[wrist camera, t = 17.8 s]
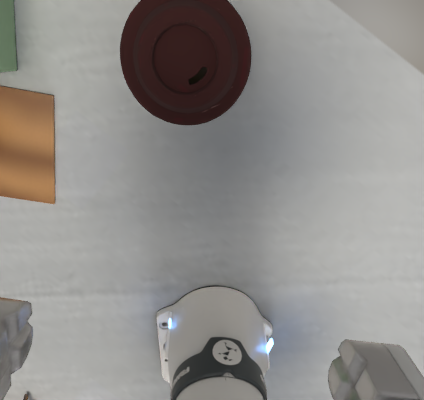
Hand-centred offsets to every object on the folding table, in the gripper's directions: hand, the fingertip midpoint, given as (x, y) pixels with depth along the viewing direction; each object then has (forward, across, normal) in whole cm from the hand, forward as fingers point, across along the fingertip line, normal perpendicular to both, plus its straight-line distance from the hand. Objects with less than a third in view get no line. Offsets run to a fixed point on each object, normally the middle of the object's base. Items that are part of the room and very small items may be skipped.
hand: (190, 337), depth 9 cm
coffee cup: (+34, -2, +6) cm, 35 cm away
